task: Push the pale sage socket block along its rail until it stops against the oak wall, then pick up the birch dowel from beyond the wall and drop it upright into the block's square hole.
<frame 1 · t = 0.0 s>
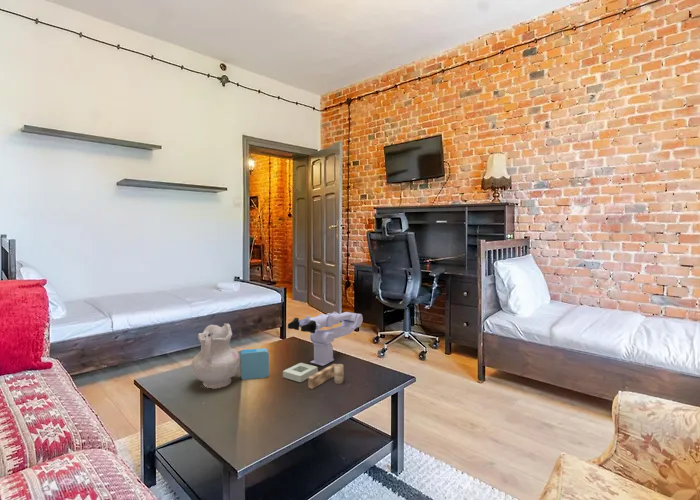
hand: (294, 327, 168), 22 cm above the table, tool horizontal, fingers open, 7 cm apart
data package: (255, 377, 169), on the table
socket block: (300, 372, 170), point 2 cm above the table, slide at 0.0 cm
oak wall: (323, 380, 164), on the table
birch dowel: (338, 381, 163), on the table
ceramic pitcher: (216, 384, 161), on the table
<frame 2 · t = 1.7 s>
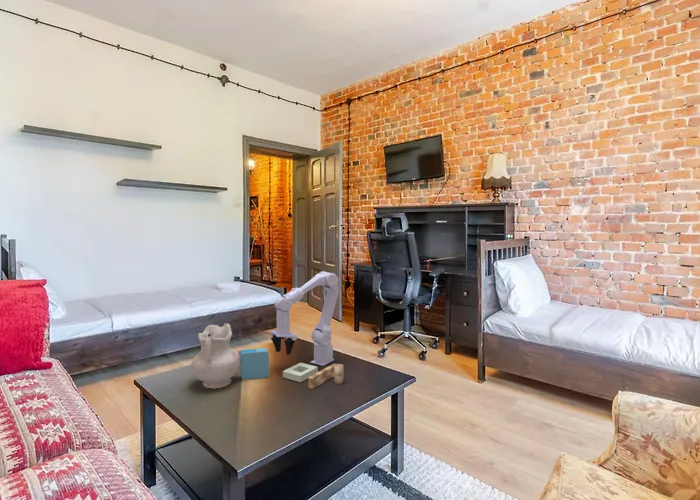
hand: (283, 352, 175), 8 cm above the table, tool pointing down, fingers open, 6 cm apart
nothing on the table moved.
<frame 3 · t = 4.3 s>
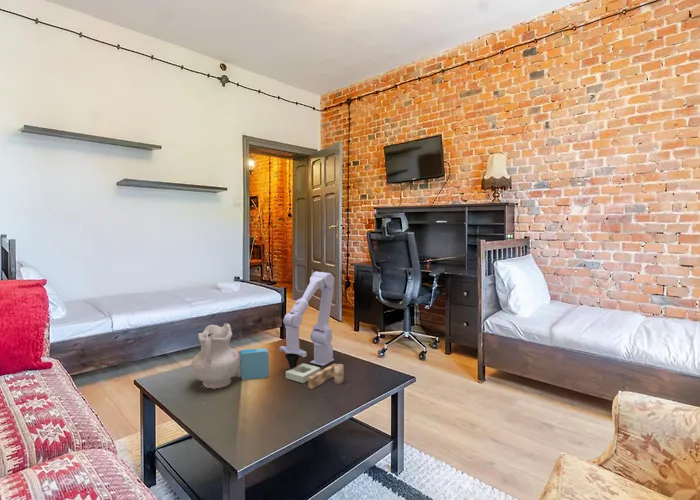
hand: (293, 369, 172), 2 cm above the table, tool pointing down, fingers closed
socket block: (303, 372, 169), point 2 cm above the table, slide at 1.6 cm, touching gripper
everything else where it was.
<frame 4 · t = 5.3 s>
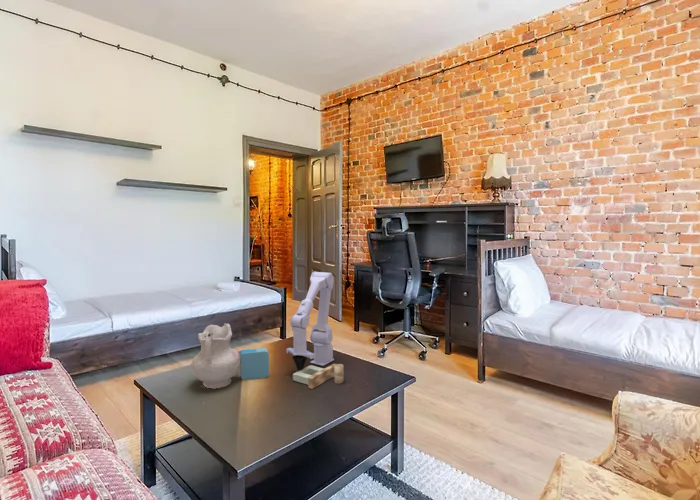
hand: (300, 371, 170), 2 cm above the table, tool pointing down, fingers closed
socket block: (310, 374, 167), point 2 cm above the table, slide at 5.9 cm, touching gripper
everything else where it was.
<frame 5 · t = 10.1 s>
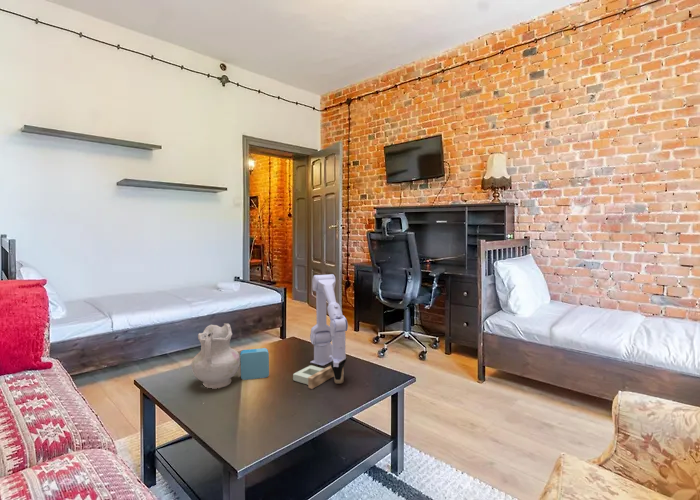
hand: (338, 377, 163), 2 cm above the table, tool pointing down, fingers closed on birch dowel, 4 cm apart
socket block: (310, 374, 167), point 2 cm above the table, slide at 6.0 cm
birch dowel: (338, 381, 163), on the table, touching gripper
everything else where it was.
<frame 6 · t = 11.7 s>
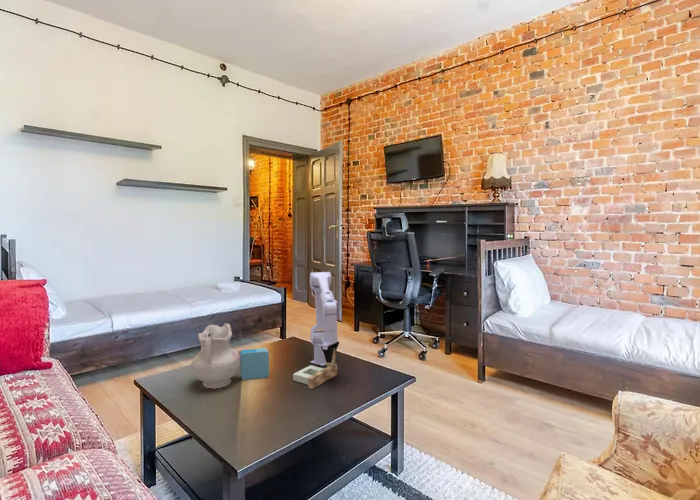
hand: (330, 360, 164), 9 cm above the table, tool pointing down, fingers closed on birch dowel, 4 cm apart
birch dowel: (330, 365, 164), point 7 cm above the table, touching gripper
everything else where it was.
when the fingers open (4 cm above the table, at t = 13.6 s): birch dowel drops 2 cm, on the table.
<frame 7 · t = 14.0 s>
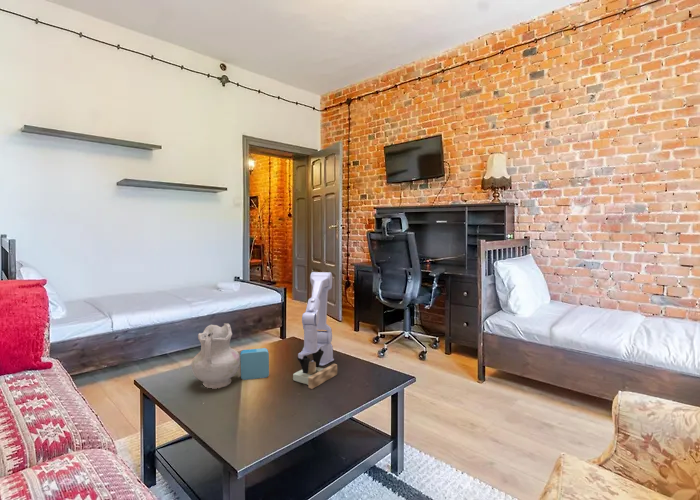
hand: (311, 369, 166), 4 cm above the table, tool pointing down, fingers open, 7 cm apart
birch dowel: (311, 378, 167), on the table
everything else where it was.
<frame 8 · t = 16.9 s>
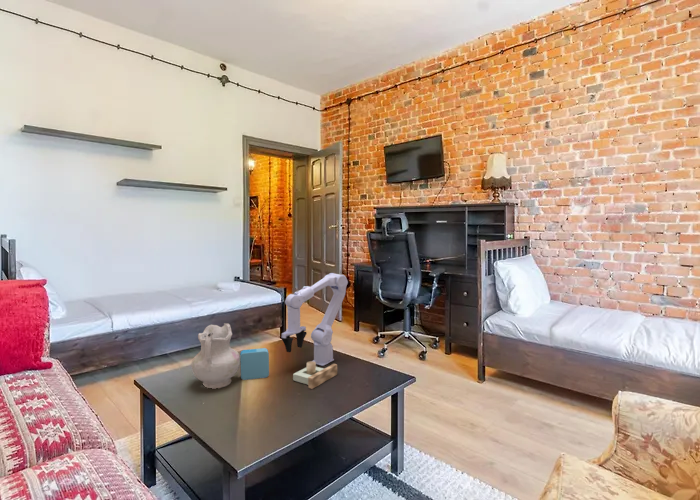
hand: (294, 349, 176), 9 cm above the table, tool pointing down, fingers open, 7 cm apart
nothing on the table moved.
at the end: socket block slide at 6.0 cm; birch dowel 1.0 cm from the target spot on the table beside the oak wall, on the table; birch dowel tilted 0° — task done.
